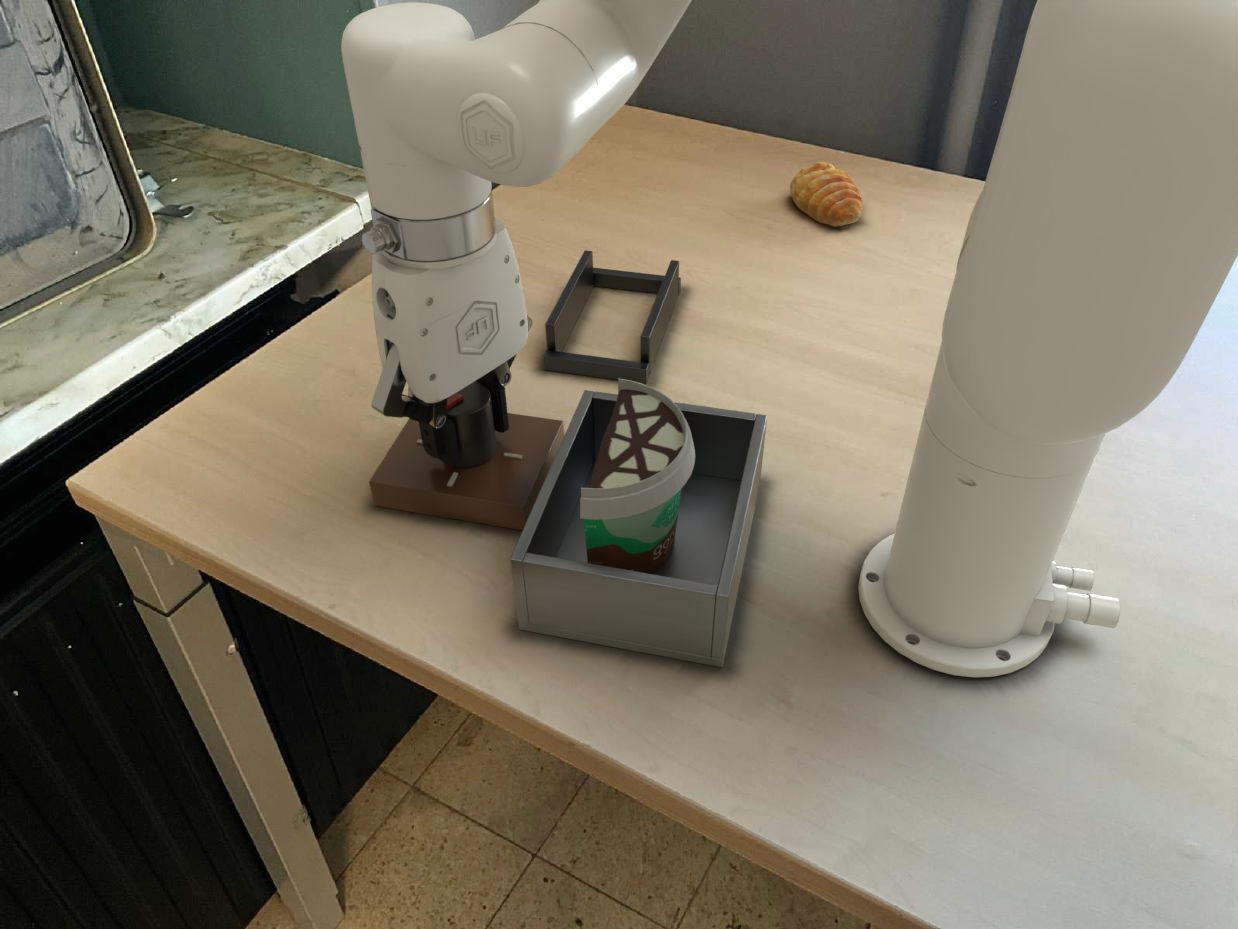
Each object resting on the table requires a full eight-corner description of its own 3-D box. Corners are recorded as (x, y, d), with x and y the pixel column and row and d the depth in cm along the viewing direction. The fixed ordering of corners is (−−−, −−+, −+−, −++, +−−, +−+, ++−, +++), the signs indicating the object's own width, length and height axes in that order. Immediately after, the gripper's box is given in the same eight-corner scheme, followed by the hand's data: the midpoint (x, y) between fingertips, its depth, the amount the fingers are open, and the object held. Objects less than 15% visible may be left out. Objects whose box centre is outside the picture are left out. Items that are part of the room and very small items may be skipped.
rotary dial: (565, 444, 80) (563, 418, 78) (527, 531, 73) (524, 505, 71) (424, 423, 82) (420, 398, 80) (374, 506, 75) (368, 479, 73)
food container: (676, 617, 65) (680, 507, 59) (584, 603, 66) (578, 494, 60) (702, 490, 74) (708, 383, 68) (621, 480, 75) (619, 373, 69)
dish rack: (680, 290, 97) (681, 254, 94) (646, 383, 86) (646, 345, 83) (589, 279, 99) (587, 243, 96) (543, 370, 87) (540, 331, 85)
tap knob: (470, 424, 78) (462, 369, 74) (508, 447, 76) (501, 391, 72) (429, 451, 75) (419, 396, 72) (467, 475, 73) (458, 419, 70)
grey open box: (759, 484, 76) (767, 414, 72) (722, 668, 63) (729, 597, 59) (587, 458, 79) (584, 389, 74) (518, 629, 66) (509, 559, 61)
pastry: (877, 224, 106) (883, 191, 104) (820, 235, 105) (824, 202, 102) (836, 187, 113) (840, 154, 110) (781, 196, 111) (784, 164, 109)
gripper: (366, 294, 56) (414, 524, 68) (569, 189, 66) (580, 407, 78) (287, 252, 60) (346, 477, 72) (490, 158, 69) (512, 370, 82)
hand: (467, 438), depth 75 cm, fingers closed on tap knob, 4 cm apart
